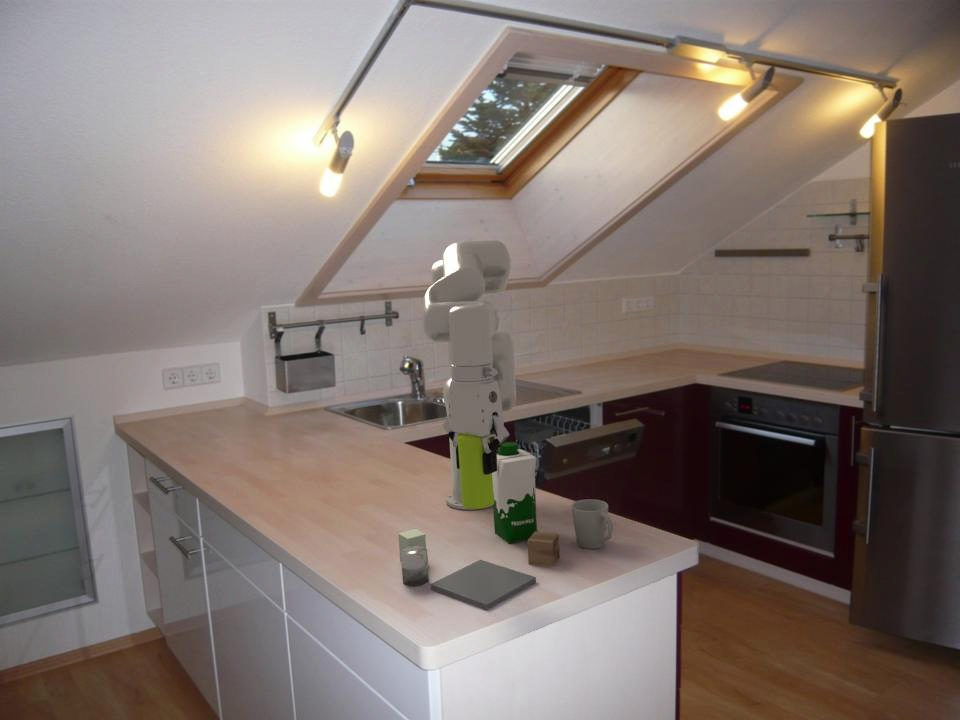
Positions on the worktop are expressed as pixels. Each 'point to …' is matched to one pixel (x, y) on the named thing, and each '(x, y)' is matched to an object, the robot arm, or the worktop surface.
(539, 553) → the walnut block
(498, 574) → the plate
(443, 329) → the robot arm
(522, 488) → the milk carton
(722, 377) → the worktop surface
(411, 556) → the metal tin
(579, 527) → the cup
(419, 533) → the pale green box
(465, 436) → the lime spray bottle
